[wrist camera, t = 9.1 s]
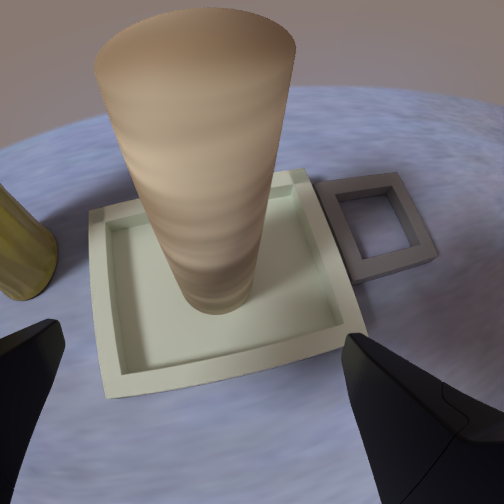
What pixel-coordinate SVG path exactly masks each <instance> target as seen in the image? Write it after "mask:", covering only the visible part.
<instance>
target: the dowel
mask: <svg viewBox="0 0 504 504" xmlns="http://www.w3.org/2000/svg"><path fill="white" fill-rule="evenodd" d="M295 53H296V45H295V41H294V39H293V38H292V36H291V35H290V34H289V33H288V31H287V30H285V29H284V28H283V27H282V26H280V25H279V24H277V23H276V22H274V21H272V20H270V19H268V18H265V17H263V16H260V15H257V14H254V13H250V12H246V11H241V10H235V9H228V8H192V9H183V10H177V11H172V12H167V13H164V14H160V15H156V16H153V17H151V18H147V19H145V20H142V21H140V22H138V23H136V24H134V25H131V26H129V27H128V28H126V29H124V30H123V31H121V32H120V33H118V34H117V35H115V36H114V37H113V38H111V39H110V40H109V41H108V42H107V43H106V44H105V45H104V46H103V47H102V49H101V50H100V52H99V53H98V55H97V57H96V59H95V63H94V72H95V75H96V78H97V81H98V85H99V88H100V91H101V94H102V97H103V100H104V103H105V106H106V109H107V112H108V115H109V118H110V121H111V124H112V127H113V129H114V132H115V135H116V138H117V141H118V143H119V146H120V149H121V151H122V154H123V157H124V159H125V162H126V165H127V167H128V170H129V172H130V175H131V177H132V180H133V183H134V185H135V188H136V190H137V193H138V195H139V197H140V200H141V202H142V205H143V207H144V210H145V212H146V214H147V217H148V219H149V221H150V224H151V226H152V228H153V231H154V233H155V235H156V237H157V240H158V242H159V244H160V247H161V249H162V251H163V253H164V255H165V258H166V260H167V262H168V264H169V266H170V269H171V271H172V273H173V275H174V277H175V279H176V281H177V283H178V286H179V288H180V290H181V292H182V294H183V296H184V298H185V299H186V301H187V302H188V303H189V304H190V305H191V306H192V307H193V308H195V309H196V310H198V311H200V312H202V313H205V314H209V315H222V314H227V313H229V312H232V311H234V310H236V309H237V308H238V307H240V306H241V305H242V304H243V303H244V302H245V301H246V299H247V297H248V296H249V294H250V291H251V288H252V283H253V278H254V272H255V267H256V262H257V257H258V252H259V246H260V241H261V236H262V231H263V225H264V220H265V215H266V210H267V204H268V199H269V194H270V189H271V183H272V178H273V173H274V167H275V162H276V157H277V151H278V146H279V141H280V135H281V130H282V124H283V119H284V114H285V108H286V103H287V97H288V92H289V87H290V81H291V76H292V70H293V64H294V59H295Z"/></svg>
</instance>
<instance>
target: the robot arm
mask: <svg viewBox="0 0 504 504" xmlns="http://www.w3.org/2000/svg"><path fill="white" fill-rule="evenodd" d="M64 349H65V339H64V336H63V332H62V329H61V325H60V322H59V321H58V320H55V319H45V320H43V321H40V322H38V323H36V324H33V325H31V326H29V327H26V328H24V329H22V330H20V331H17V332H15V333H13V334H10V335H8V336H6V337H3V338H1V339H0V504H10V502H11V499H12V495H13V491H14V487H15V484H16V481H17V478H18V474H19V471H20V468H21V465H22V462H23V459H24V456H25V453H26V450H27V448H28V445H29V442H30V439H31V437H32V434H33V431H34V429H35V426H36V423H37V421H38V418H39V416H40V413H41V411H42V409H43V406H44V404H45V401H46V399H47V397H48V394H49V392H50V390H51V387H52V385H53V382H54V379H55V376H56V373H57V370H58V367H59V364H60V361H61V358H62V355H63V352H64ZM341 360H342V366H343V371H344V375H345V380H346V385H347V390H348V395H349V400H350V403H351V407H352V410H353V413H354V416H355V419H356V422H357V425H358V428H359V431H360V434H361V438H362V441H363V444H364V447H365V450H366V453H367V457H368V460H369V463H370V466H371V469H372V473H373V476H374V479H375V483H376V486H377V489H378V493H379V496H380V500H381V503H382V504H504V412H502V411H500V410H497V409H495V408H493V407H491V406H489V405H487V404H484V403H482V402H480V401H478V400H476V399H474V398H472V397H470V396H468V395H466V394H464V393H462V392H460V391H459V390H457V389H455V388H453V387H451V386H450V385H448V384H446V383H445V382H442V381H441V380H439V379H438V378H436V377H434V376H433V375H431V374H429V373H428V372H426V371H424V370H422V369H421V368H419V367H417V366H416V365H414V364H412V363H411V362H409V361H407V360H406V359H404V358H402V357H401V356H399V355H397V354H395V353H394V352H392V351H390V350H389V349H387V348H385V347H384V346H382V345H380V344H379V343H377V342H375V341H374V340H372V339H370V338H369V337H367V336H365V335H364V334H362V333H349V334H347V336H346V339H345V344H344V348H343V352H342V357H341Z"/></svg>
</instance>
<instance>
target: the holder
mask: <svg viewBox="0 0 504 504" xmlns="http://www.w3.org/2000/svg"><path fill="white" fill-rule="evenodd" d="M313 189H314V191H315V194H316V196H317V199H318V201H319V203H320V206H321V208H322V211H323V213H324V215H325V218H326V220H327V223H328V225H329V228H330V230H331V233H332V235H333V238H334V240H335V243H336V246H337V248H338V251H339V253H340V256H341V259H342V261H343V264H344V267H345V269H346V272H347V275H348V278H349V280H350V283H351V286H353V285H356V284H360V283H363V282H367V281H370V280H374V279H377V278H380V277H384V276H387V275H390V274H394V273H397V272H400V271H403V270H407V269H410V268H413V267H416V266H419V265H423V264H426V263H429V262H431V261H432V260H433V259H435V258H436V257H437V256H438V254H437V251H436V249H435V247H434V245H433V242H432V240H431V238H430V236H429V234H428V231H427V229H426V227H425V225H424V223H423V221H422V219H421V217H420V215H419V213H418V211H417V209H416V207H415V205H414V203H413V201H412V199H411V197H410V195H409V193H408V192H407V190H406V188H405V186H404V184H403V182H402V180H401V179H400V177H399V175H398V173H397V172H394V173H385V174H377V175H369V176H361V177H353V178H346V179H338V180H331V181H324V182H317V183H314V184H313ZM383 194H387V196H388V198H389V200H390V202H391V204H392V206H393V208H394V211H395V213H396V215H397V217H398V219H399V221H400V223H401V225H402V227H403V230H404V232H405V234H406V236H407V238H408V241H409V243H410V245H411V247H409V248H406V249H402V250H398V251H394V252H391V253H387V254H383V255H379V256H375V257H372V258H368V259H364V260H362V257H361V255H360V252H359V250H358V247H357V245H356V242H355V240H354V237H353V235H352V233H351V230H350V228H349V225H348V223H347V221H346V218H345V216H344V214H343V211H342V209H341V207H340V205H339V202H341V201H347V200H353V199H359V198H365V197H371V196H377V195H383Z"/></svg>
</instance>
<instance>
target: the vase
mask: <svg viewBox="0 0 504 504" xmlns="http://www.w3.org/2000/svg"><path fill="white" fill-rule="evenodd" d="M57 256H58V253H57V245H56V241H55V238H54V236H53V234H52V233H51V232H50V231H49V230H48V229H47V228H46V227H44V226H43V225H42V224H40V223H39V222H38V221H37V220H36V219H35V218H34V217H33V216H32V215H31V214H30V213H29V212H28V211H27V210H26V209H25V208H24V207H23V206H22V205H21V204H20V203H19V202H18V201H17V200H16V199H15V198H14V197H13V196H12V195H11V194H10V193H9V192H8V191H7V190H6V189H5V188H4V187H3V186H2V184H1V183H0V290H1V291H2V292H3V293H4V294H5V295H6V296H8V297H9V298H11V299H13V300H17V301H24V300H28V299H31V298H33V297H34V296H36V295H37V294H39V293H40V292H41V291H42V290H43V289H44V288H45V287H46V285H47V284H48V283H49V281H50V279H51V277H52V275H53V273H54V270H55V267H56V263H57Z"/></svg>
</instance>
